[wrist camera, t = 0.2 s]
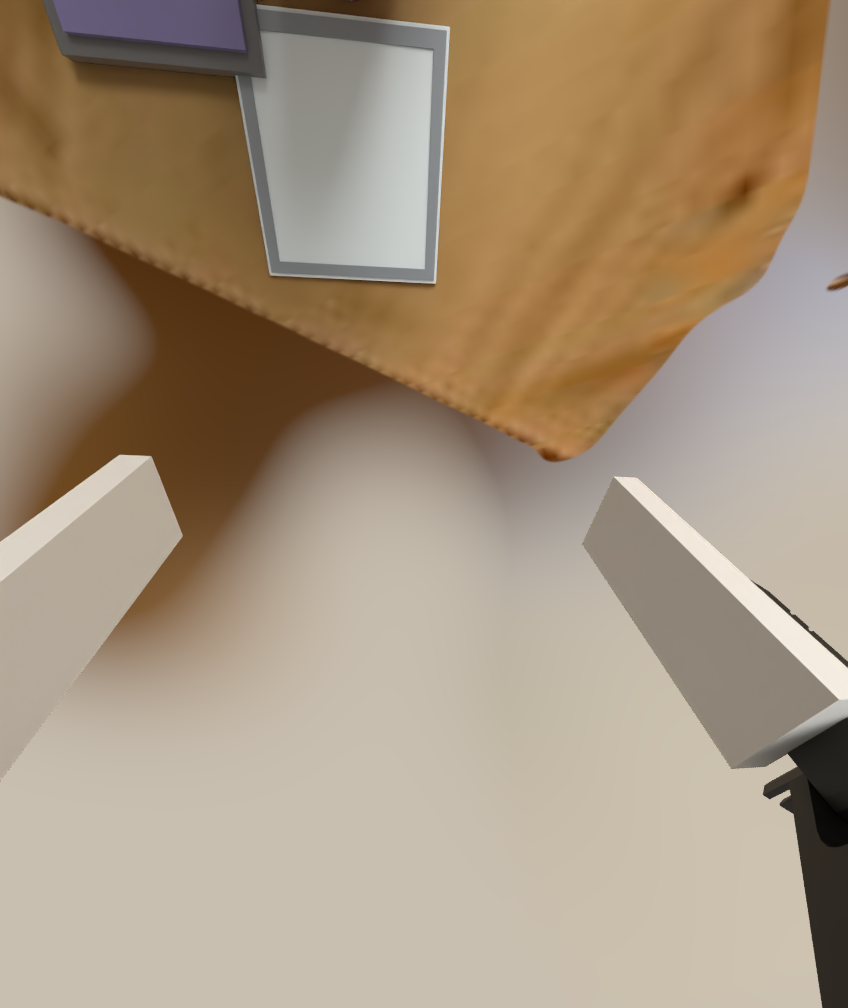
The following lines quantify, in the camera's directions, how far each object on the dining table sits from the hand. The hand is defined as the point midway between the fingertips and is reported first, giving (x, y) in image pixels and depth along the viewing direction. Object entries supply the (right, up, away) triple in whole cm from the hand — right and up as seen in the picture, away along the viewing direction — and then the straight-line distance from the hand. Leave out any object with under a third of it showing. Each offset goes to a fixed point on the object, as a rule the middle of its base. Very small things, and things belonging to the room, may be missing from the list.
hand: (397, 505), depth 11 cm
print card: (-5, +25, +16) cm, 30 cm away
